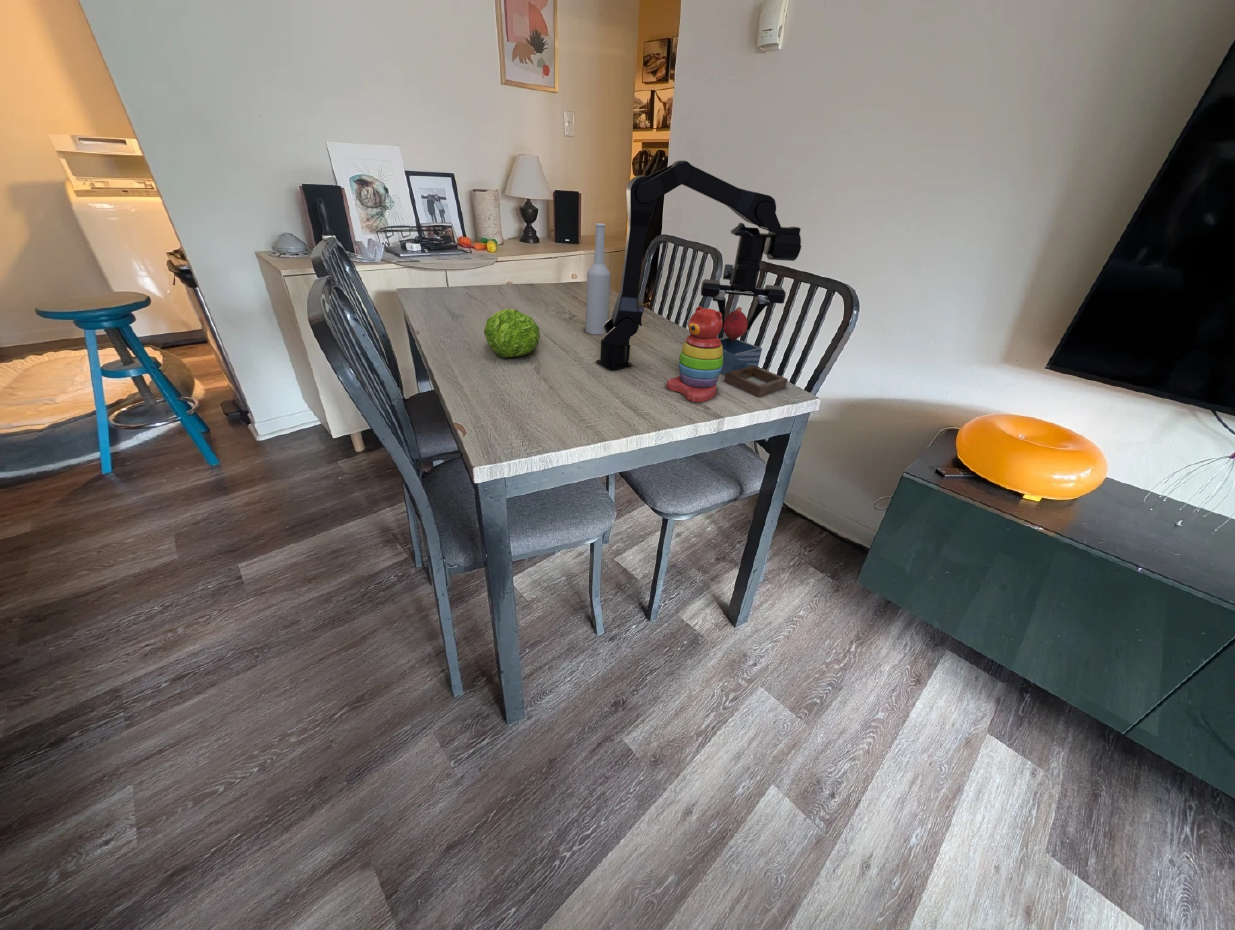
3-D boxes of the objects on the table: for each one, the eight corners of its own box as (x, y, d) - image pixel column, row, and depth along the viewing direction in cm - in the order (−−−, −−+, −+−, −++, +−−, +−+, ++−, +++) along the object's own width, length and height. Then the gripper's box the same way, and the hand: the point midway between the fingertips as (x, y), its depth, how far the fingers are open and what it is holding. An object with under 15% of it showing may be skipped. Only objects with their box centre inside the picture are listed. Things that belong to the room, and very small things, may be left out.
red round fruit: (738, 346, 112) (745, 311, 107) (716, 340, 115) (722, 306, 110) (748, 340, 116) (755, 307, 112) (726, 335, 119) (733, 302, 114)
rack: (758, 397, 104) (760, 387, 103) (724, 381, 110) (725, 372, 109) (785, 387, 109) (787, 379, 108) (751, 373, 116) (753, 365, 114)
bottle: (607, 335, 135) (612, 226, 120) (584, 333, 135) (586, 224, 120) (608, 328, 140) (613, 223, 125) (586, 327, 140) (588, 221, 125)
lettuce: (534, 313, 131) (494, 285, 124) (552, 335, 111) (506, 303, 104) (511, 348, 134) (470, 323, 127) (524, 376, 114) (477, 348, 107)
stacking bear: (661, 386, 106) (671, 305, 96) (694, 377, 111) (706, 300, 102) (695, 404, 99) (709, 318, 89) (728, 394, 104) (745, 312, 94)
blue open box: (730, 377, 113) (734, 355, 110) (698, 363, 119) (702, 342, 116) (757, 369, 118) (762, 348, 115) (725, 356, 125) (729, 336, 122)
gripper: (784, 256, 111) (769, 322, 120) (705, 249, 113) (695, 315, 121) (793, 264, 102) (776, 336, 110) (707, 256, 103) (696, 328, 112)
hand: (734, 328), depth 114 cm, fingers closed on red round fruit, 6 cm apart
